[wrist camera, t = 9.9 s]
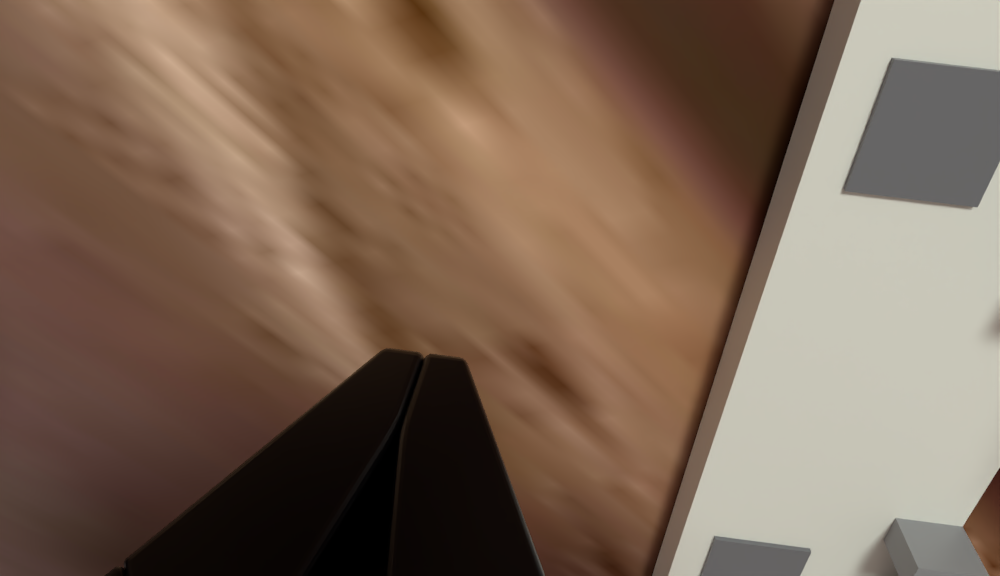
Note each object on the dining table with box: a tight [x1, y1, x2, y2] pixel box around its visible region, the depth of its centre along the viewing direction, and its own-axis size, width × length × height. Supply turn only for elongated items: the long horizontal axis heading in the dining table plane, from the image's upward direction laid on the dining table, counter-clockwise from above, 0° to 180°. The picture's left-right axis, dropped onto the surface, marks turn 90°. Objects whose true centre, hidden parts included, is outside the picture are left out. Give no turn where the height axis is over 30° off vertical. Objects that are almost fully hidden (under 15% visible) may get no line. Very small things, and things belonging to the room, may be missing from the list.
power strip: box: [652, 0, 1000, 576], centre depth 20 cm, size 8×25×3 cm, turn 175°
